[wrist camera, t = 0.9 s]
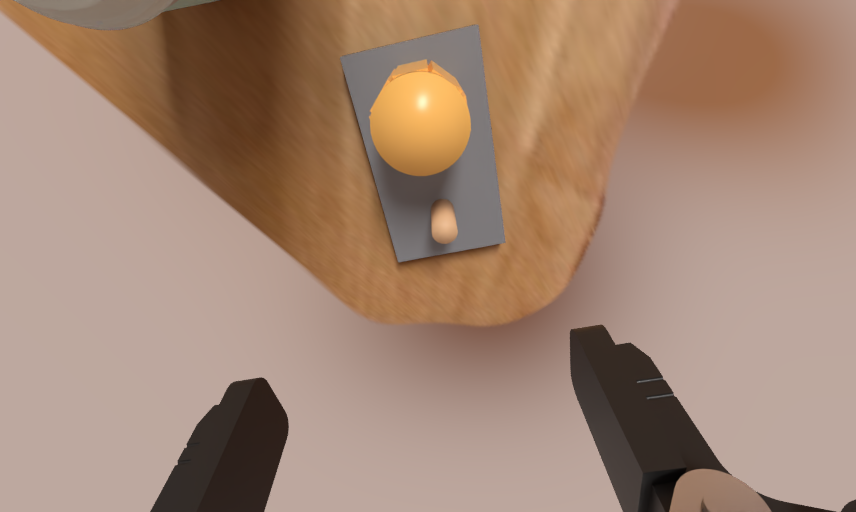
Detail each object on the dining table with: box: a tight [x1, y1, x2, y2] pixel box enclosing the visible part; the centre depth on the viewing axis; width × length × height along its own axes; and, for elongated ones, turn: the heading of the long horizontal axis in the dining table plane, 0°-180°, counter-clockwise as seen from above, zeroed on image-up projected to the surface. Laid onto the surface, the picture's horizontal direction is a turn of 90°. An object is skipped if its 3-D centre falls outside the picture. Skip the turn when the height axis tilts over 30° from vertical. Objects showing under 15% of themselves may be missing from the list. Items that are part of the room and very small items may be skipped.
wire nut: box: [369, 59, 471, 176], centre depth 22 cm, size 5×5×6 cm
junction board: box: [340, 25, 505, 262], centre depth 25 cm, size 14×8×5 cm, turn 12°
